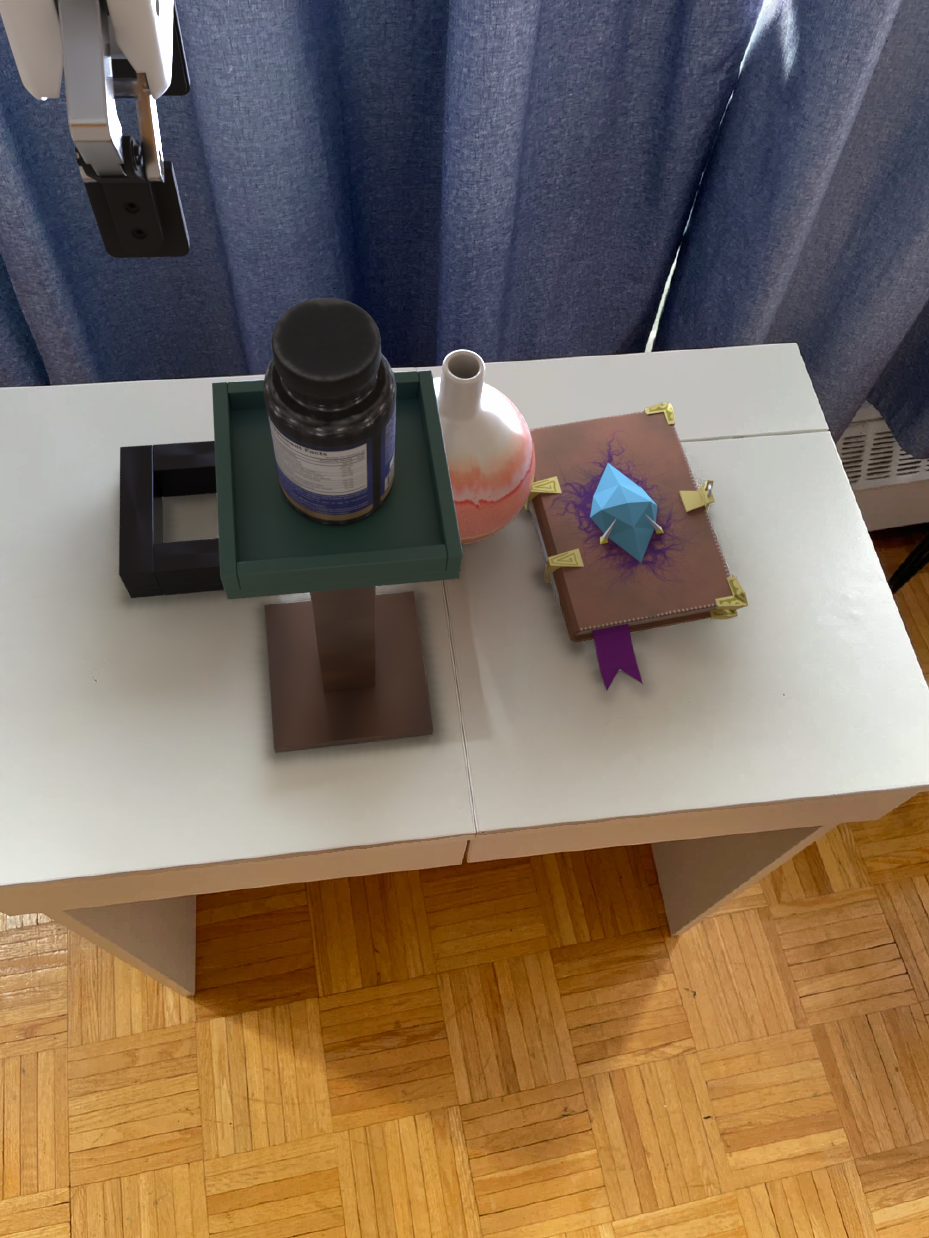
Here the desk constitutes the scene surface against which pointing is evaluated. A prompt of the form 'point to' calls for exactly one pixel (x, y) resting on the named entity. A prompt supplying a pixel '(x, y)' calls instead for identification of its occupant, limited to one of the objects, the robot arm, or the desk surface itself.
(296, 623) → the stand
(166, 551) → the holder
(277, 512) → the tray
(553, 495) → the book
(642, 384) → the desk surface
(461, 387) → the vase
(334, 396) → the pill bottle
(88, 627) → the desk surface
